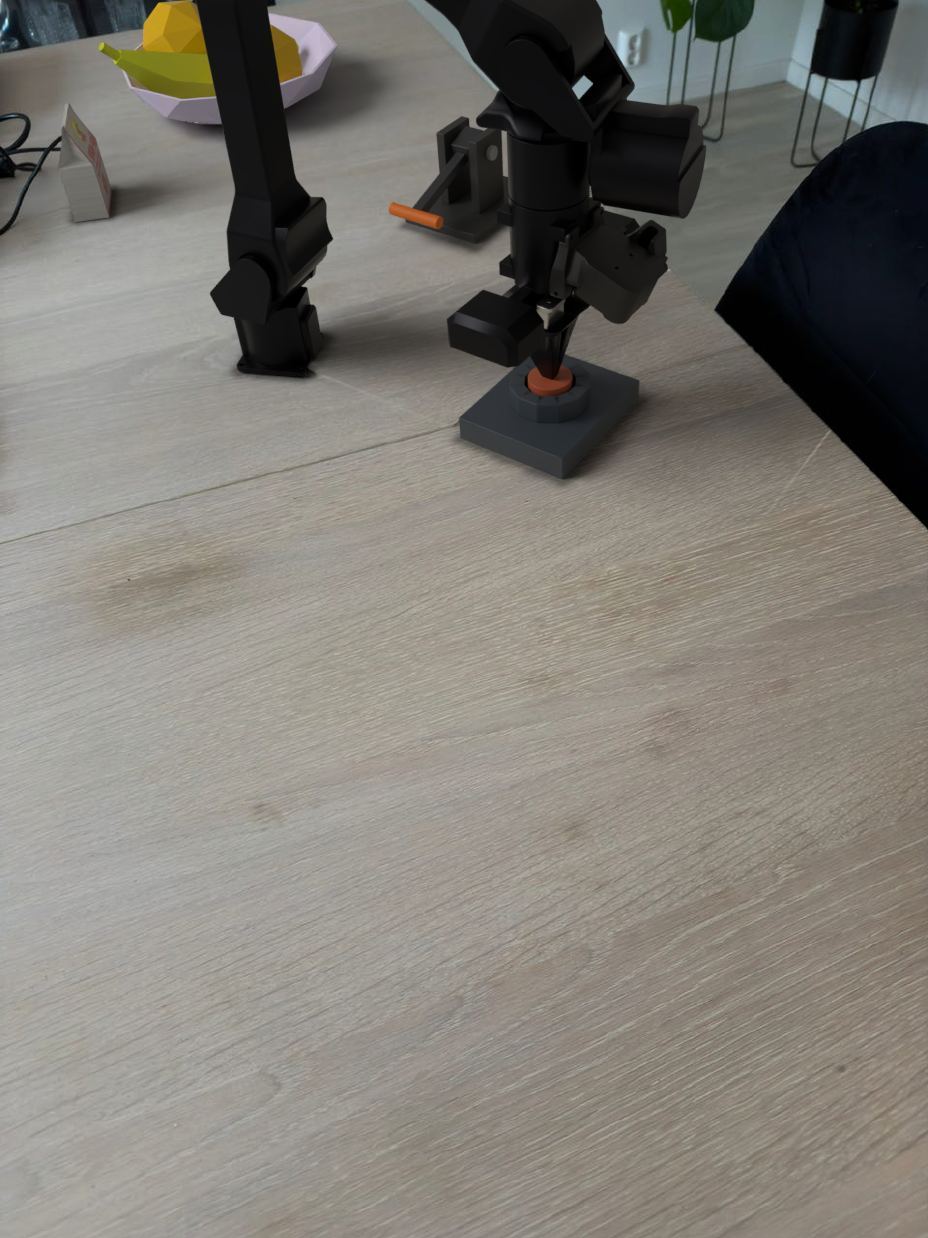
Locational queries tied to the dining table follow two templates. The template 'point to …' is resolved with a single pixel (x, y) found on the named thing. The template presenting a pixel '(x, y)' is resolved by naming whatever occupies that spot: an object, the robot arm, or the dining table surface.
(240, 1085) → the dining table surface
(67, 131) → the small milk carton
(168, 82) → the fruit bowl
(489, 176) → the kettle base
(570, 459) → the socket block
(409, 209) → the switch lever
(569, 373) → the button
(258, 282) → the robot arm
